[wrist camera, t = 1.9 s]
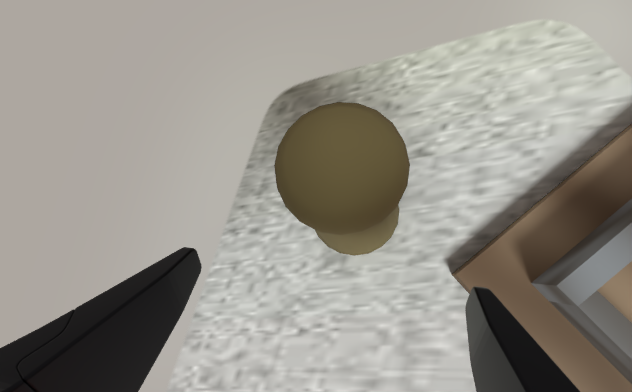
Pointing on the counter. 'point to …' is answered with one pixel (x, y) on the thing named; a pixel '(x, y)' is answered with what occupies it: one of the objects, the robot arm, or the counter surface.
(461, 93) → the counter surface
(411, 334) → the counter surface
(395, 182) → the cork
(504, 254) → the socket base
